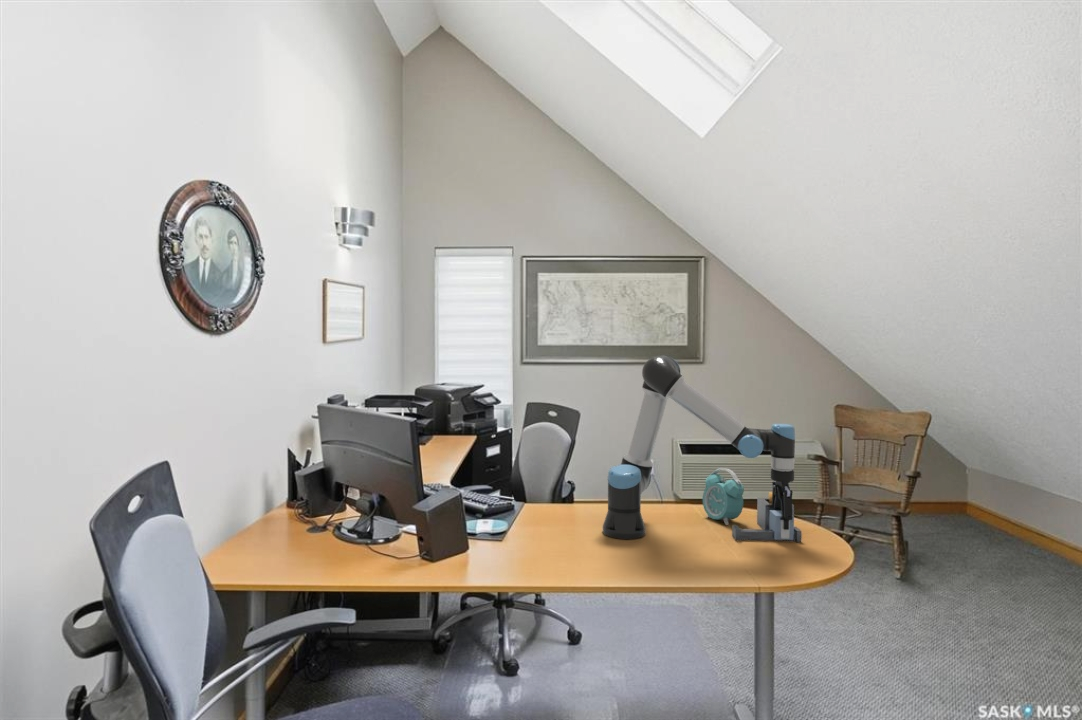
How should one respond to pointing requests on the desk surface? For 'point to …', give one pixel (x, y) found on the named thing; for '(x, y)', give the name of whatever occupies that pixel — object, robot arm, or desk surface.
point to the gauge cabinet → (765, 512)
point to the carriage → (779, 524)
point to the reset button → (770, 497)
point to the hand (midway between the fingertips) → (781, 534)
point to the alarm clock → (723, 496)
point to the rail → (761, 534)
